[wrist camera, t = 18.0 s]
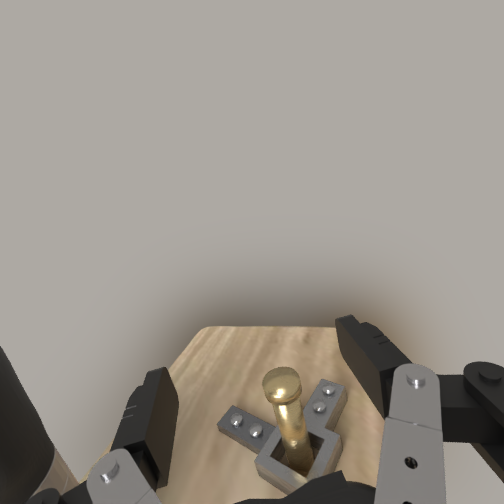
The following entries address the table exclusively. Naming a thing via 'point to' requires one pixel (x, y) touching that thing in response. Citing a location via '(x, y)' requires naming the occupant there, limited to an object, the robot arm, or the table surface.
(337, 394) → the bolted corner bracket
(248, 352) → the table surface
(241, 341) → the table surface
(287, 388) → the brass pin
